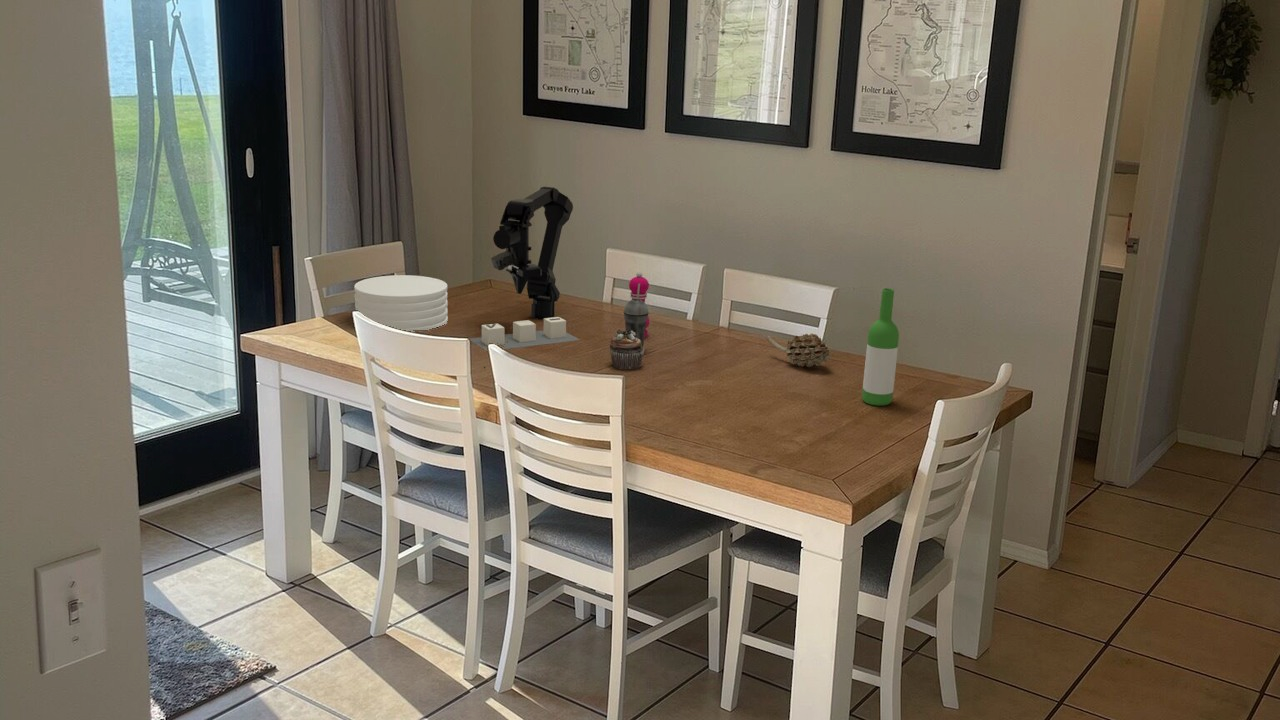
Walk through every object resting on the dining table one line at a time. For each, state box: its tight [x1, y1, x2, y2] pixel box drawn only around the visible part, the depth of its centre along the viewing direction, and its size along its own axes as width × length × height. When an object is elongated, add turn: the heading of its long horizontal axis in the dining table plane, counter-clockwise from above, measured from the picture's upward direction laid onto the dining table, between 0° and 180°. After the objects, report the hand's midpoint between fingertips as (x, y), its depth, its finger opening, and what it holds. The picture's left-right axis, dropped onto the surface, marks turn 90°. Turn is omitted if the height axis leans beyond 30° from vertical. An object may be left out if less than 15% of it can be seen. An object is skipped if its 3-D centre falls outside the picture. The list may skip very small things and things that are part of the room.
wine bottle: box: [861, 287, 900, 407], centre depth 296 cm, size 8×8×30 cm
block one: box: [543, 316, 567, 339], centre depth 346 cm, size 5×5×5 cm
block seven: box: [481, 323, 506, 345], centre depth 336 cm, size 5×5×5 cm
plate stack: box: [353, 274, 449, 333], centre depth 357 cm, size 28×28×12 cm
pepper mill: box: [628, 271, 650, 339], centre depth 349 cm, size 7×7×20 cm
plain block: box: [512, 319, 537, 342], centre depth 341 cm, size 5×5×5 cm
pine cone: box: [767, 333, 831, 368], centre depth 329 cm, size 22×10×10 cm, turn 50°
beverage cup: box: [623, 284, 650, 348], centre depth 333 cm, size 7×7×20 cm
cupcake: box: [609, 329, 645, 370], centre depth 321 cm, size 10×10×10 cm
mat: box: [469, 329, 580, 352], centre depth 341 cm, size 30×14×1 cm, turn 121°
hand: (519, 293), depth 351 cm, fingers closed
